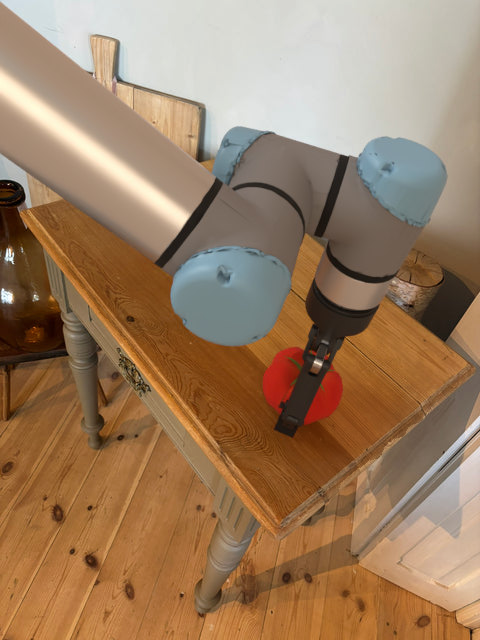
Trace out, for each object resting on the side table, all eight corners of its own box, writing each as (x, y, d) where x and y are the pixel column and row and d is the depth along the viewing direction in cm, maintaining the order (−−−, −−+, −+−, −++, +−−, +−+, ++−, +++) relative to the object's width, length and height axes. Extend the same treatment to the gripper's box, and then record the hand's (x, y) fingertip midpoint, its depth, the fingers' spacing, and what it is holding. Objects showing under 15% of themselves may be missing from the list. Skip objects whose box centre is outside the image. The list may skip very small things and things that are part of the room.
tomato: (346, 418, 65) (365, 389, 59) (278, 443, 60) (293, 414, 55) (308, 360, 71) (323, 328, 65) (244, 378, 66) (254, 346, 61)
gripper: (361, 383, 41) (298, 482, 57) (396, 241, 56) (338, 351, 72) (282, 350, 42) (242, 457, 58) (338, 220, 57) (293, 333, 73)
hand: (295, 398), depth 65 cm, fingers closed on tomato, 11 cm apart
